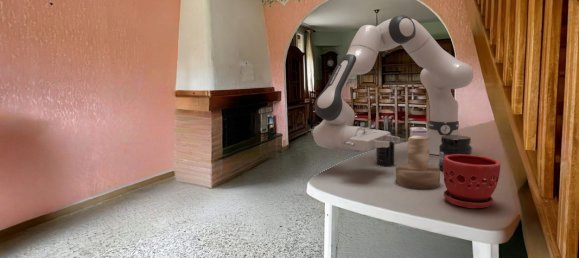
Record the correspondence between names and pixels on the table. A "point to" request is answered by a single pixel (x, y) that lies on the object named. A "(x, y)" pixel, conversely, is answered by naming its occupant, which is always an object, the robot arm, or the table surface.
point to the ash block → (418, 153)
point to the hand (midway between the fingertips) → (394, 142)
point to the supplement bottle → (385, 155)
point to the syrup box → (418, 131)
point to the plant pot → (470, 180)
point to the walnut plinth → (418, 177)
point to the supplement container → (454, 147)
